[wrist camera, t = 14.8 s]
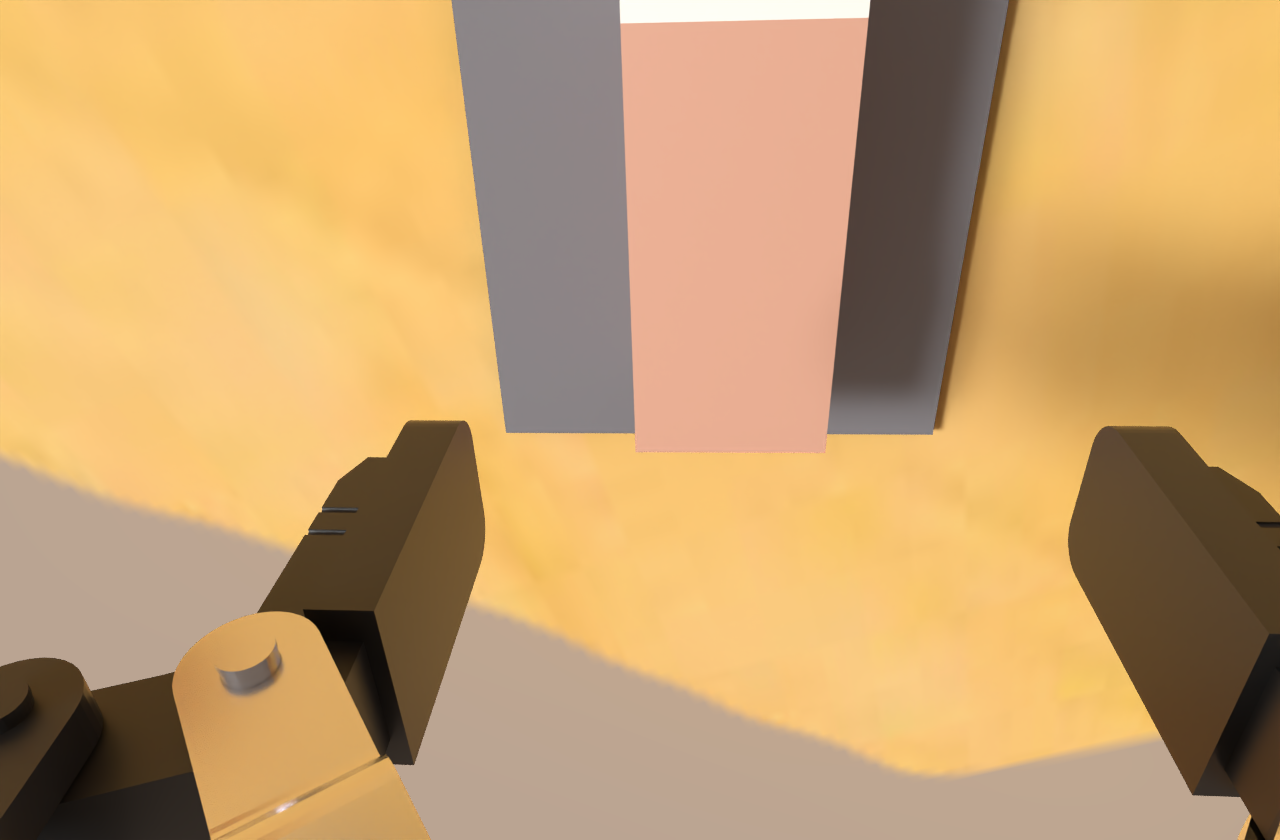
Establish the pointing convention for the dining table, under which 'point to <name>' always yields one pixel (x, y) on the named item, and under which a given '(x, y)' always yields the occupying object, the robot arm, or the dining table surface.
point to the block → (738, 215)
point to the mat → (597, 207)
